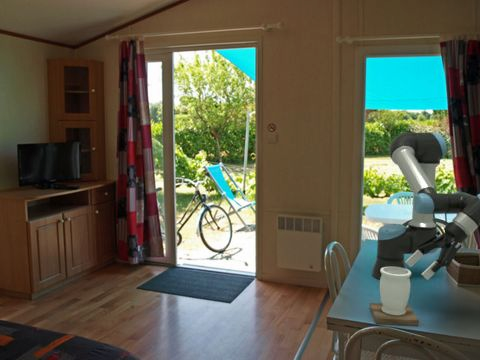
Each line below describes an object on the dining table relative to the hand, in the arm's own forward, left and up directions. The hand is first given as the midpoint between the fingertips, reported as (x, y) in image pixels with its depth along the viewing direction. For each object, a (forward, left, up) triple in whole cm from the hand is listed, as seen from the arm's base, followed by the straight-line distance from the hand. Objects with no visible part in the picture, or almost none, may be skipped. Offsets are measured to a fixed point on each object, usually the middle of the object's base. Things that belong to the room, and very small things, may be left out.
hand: (415, 270), depth 165 cm
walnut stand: (+1, -7, -17) cm, 18 cm away
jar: (+1, -7, -15) cm, 17 cm away
